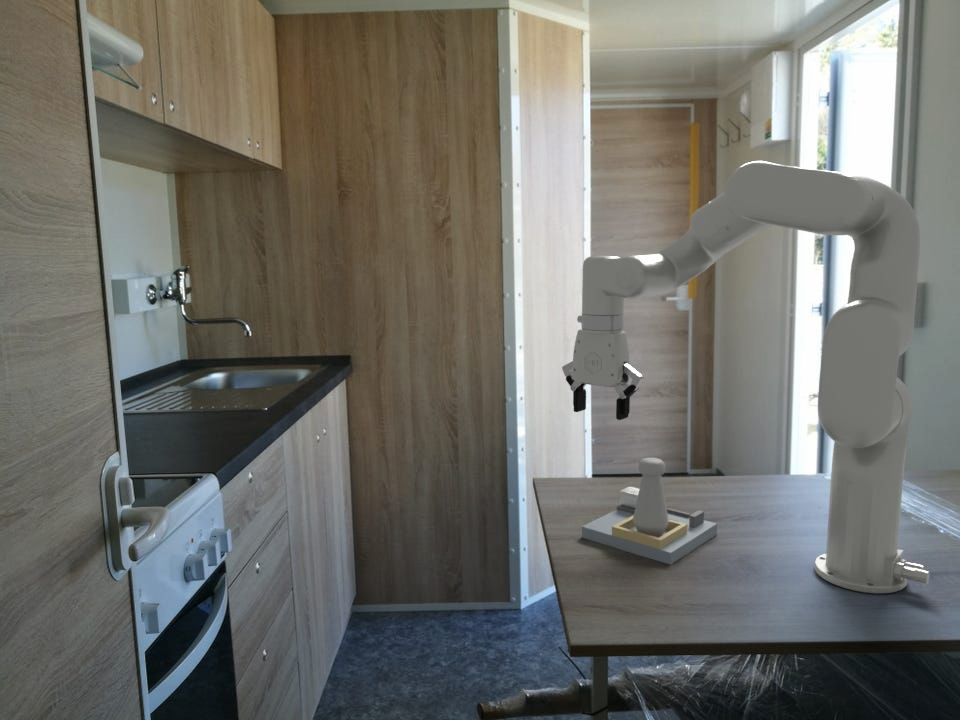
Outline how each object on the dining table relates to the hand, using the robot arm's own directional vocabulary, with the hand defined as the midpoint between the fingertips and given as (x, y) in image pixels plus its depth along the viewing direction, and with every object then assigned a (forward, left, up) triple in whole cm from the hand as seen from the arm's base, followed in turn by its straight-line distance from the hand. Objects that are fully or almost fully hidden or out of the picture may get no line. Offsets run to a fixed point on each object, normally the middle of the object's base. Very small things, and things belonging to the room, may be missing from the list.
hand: (600, 414), depth 140 cm
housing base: (-14, +5, -19) cm, 24 cm away
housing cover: (-8, 0, -16) cm, 18 cm away
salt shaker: (-16, +9, -17) cm, 25 cm away
